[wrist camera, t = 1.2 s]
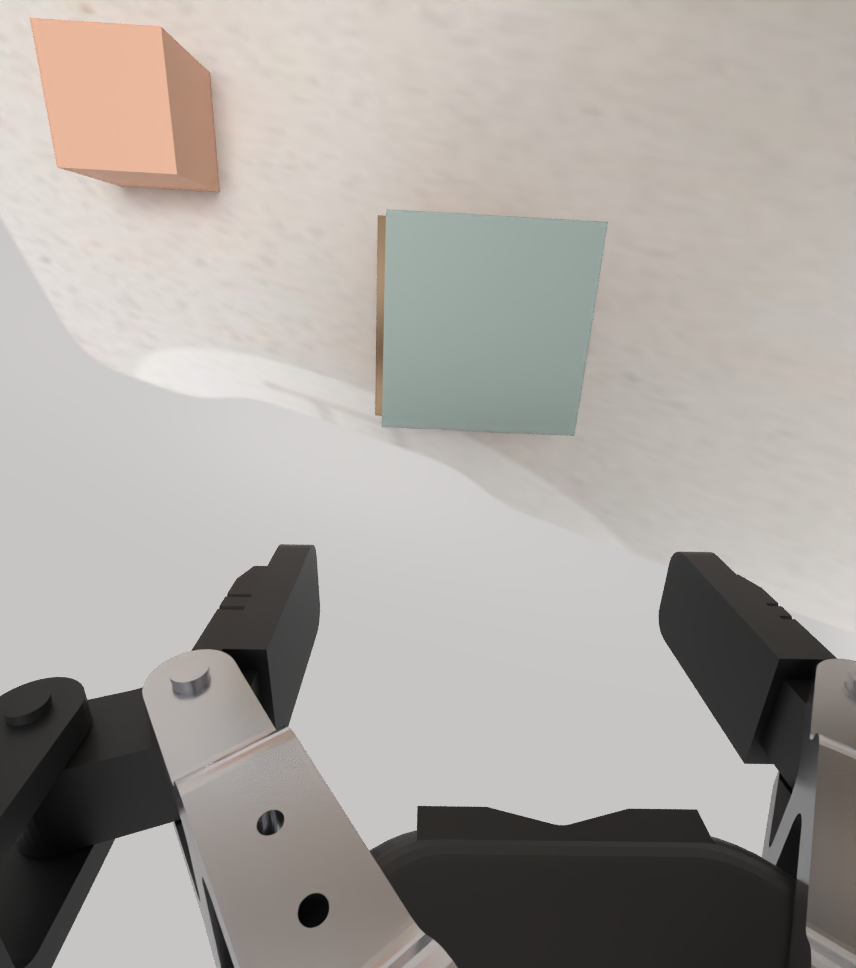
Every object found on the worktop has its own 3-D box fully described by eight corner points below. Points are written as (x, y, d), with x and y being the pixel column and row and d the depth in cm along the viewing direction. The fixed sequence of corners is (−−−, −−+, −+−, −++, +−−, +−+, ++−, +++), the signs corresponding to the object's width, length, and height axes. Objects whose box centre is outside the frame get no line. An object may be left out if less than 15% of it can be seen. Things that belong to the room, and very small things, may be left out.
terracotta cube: (104, 66, 27) (29, 17, 22) (210, 73, 27) (161, 26, 22) (121, 186, 29) (56, 167, 24) (220, 192, 29) (177, 174, 24)
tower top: (392, 222, 26) (386, 209, 21) (574, 232, 26) (607, 222, 21) (388, 403, 29) (381, 426, 24) (550, 410, 29) (574, 435, 24)
